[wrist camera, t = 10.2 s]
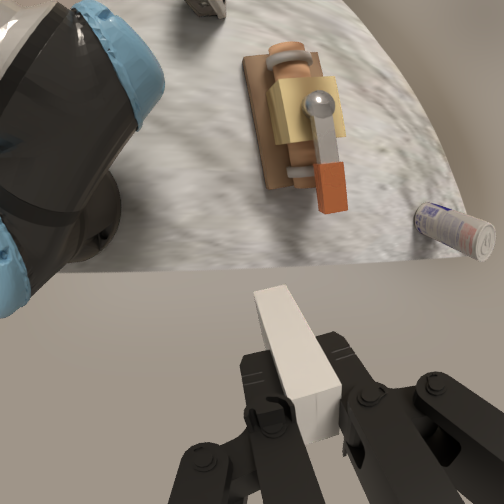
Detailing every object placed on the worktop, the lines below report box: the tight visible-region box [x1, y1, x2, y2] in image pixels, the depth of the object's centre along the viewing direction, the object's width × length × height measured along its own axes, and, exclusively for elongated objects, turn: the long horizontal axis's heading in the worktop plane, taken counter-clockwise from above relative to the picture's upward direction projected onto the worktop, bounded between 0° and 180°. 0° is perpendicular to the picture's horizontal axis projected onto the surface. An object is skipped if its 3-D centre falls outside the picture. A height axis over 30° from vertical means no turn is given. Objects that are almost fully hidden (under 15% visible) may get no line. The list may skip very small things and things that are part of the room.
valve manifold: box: [242, 42, 346, 190], centre depth 31 cm, size 10×18×9 cm, turn 11°
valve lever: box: [301, 90, 348, 214], centre depth 27 cm, size 12×3×2 cm, turn 10°
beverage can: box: [415, 202, 496, 262], centre depth 36 cm, size 6×6×15 cm
